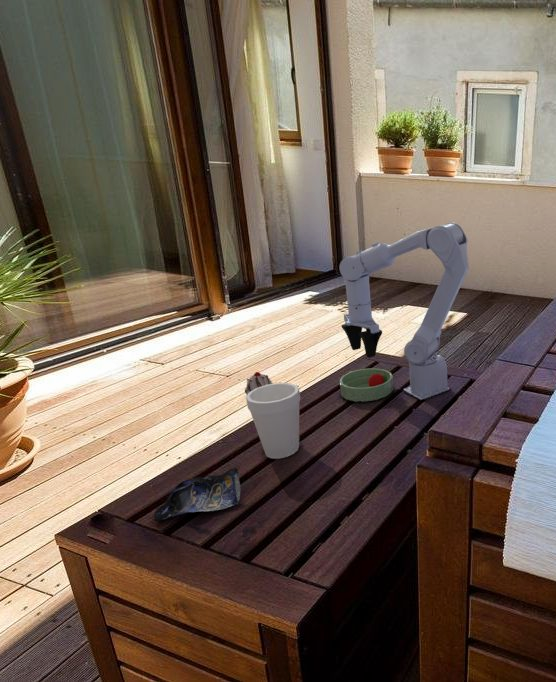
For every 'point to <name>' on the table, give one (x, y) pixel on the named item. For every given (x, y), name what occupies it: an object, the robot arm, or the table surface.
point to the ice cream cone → (257, 382)
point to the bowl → (365, 385)
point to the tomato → (377, 380)
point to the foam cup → (276, 418)
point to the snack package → (202, 495)
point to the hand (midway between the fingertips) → (363, 352)
